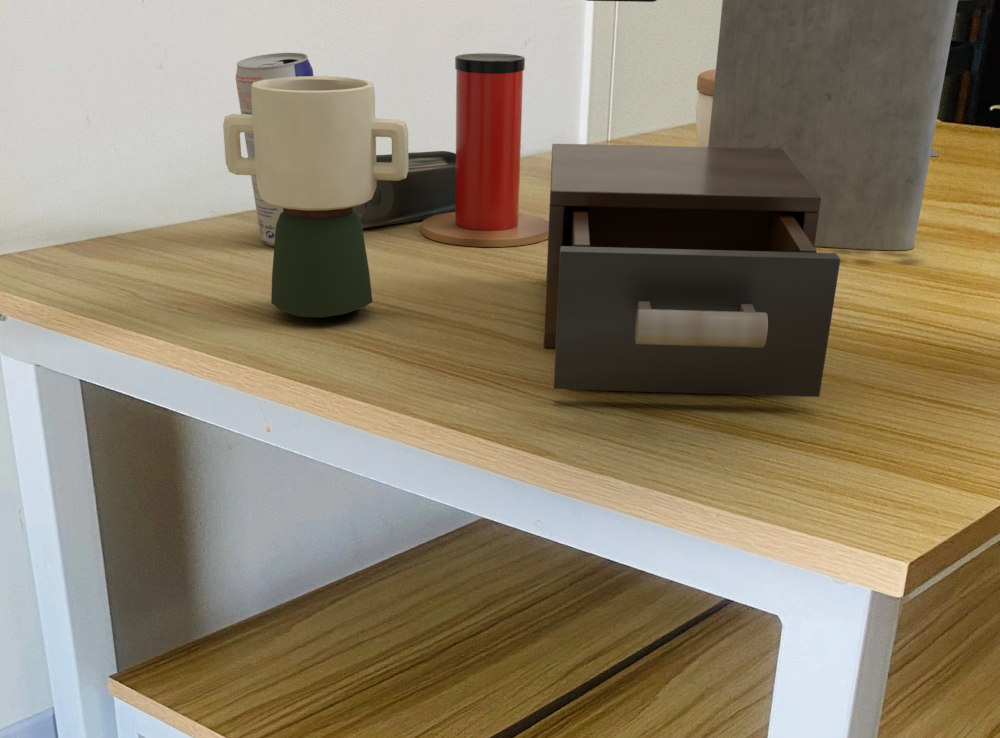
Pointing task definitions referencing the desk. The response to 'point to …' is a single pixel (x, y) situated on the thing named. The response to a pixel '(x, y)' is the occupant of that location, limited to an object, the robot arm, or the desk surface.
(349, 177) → the beige green vessel
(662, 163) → the cabinet
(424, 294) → the desk surface
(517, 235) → the coaster
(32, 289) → the desk surface
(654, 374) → the drawer
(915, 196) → the grey upright slab
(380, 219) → the dark grey stapler
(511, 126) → the tin
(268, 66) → the energy drink
